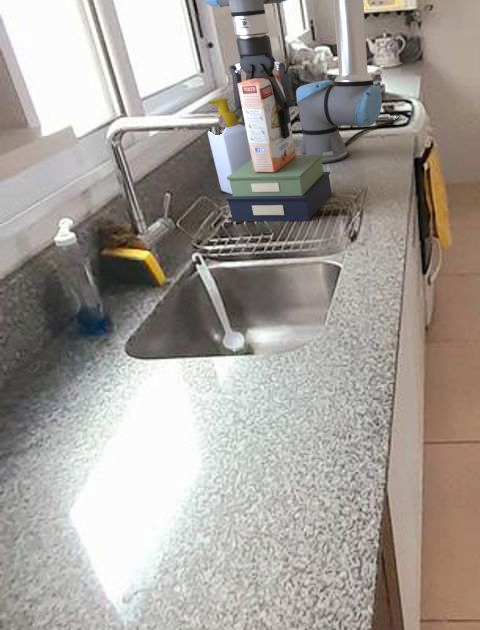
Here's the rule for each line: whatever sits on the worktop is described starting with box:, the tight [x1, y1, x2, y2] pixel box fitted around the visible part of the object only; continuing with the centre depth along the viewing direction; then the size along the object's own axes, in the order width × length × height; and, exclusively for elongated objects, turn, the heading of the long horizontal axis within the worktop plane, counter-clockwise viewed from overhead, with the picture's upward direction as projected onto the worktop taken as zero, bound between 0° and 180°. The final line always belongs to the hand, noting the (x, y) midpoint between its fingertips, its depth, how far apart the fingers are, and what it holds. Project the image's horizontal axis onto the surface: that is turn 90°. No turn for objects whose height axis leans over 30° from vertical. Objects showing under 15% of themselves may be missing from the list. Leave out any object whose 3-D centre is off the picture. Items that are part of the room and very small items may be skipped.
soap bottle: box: [207, 97, 252, 195], centre depth 166 cm, size 9×9×25 cm
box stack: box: [225, 154, 333, 222], centre depth 155 cm, size 21×21×11 cm
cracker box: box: [238, 72, 297, 173], centre depth 147 cm, size 14×6×21 cm, turn 169°
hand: (271, 137), depth 149 cm, fingers open, 7 cm apart
